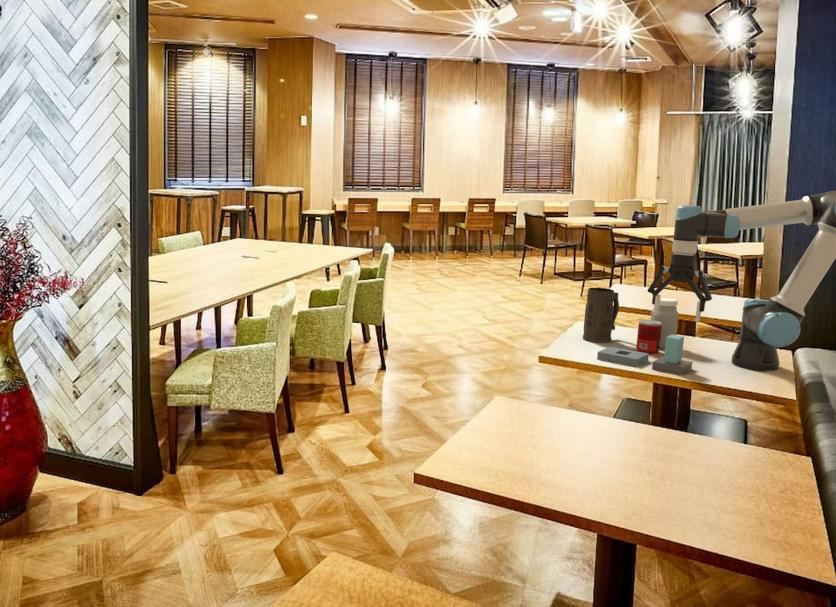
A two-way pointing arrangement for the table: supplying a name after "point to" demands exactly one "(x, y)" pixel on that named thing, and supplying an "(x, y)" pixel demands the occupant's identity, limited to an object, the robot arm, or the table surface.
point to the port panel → (623, 356)
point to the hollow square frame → (672, 366)
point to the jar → (666, 318)
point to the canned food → (649, 336)
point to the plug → (673, 349)
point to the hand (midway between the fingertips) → (676, 318)
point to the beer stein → (600, 314)
